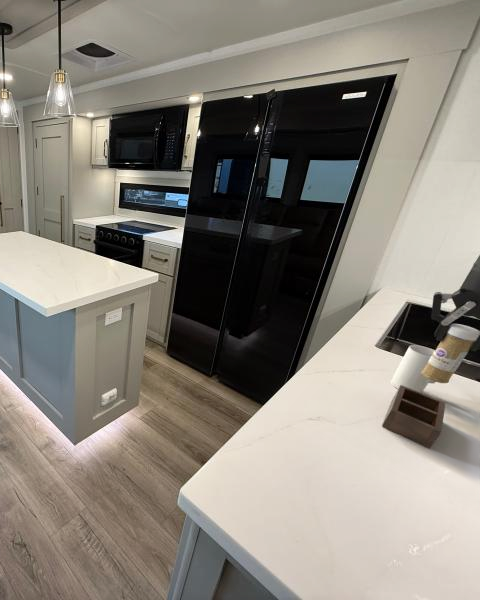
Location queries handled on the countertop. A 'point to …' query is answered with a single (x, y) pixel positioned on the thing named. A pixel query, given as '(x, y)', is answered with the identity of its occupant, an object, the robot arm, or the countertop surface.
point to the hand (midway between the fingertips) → (455, 344)
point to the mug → (413, 369)
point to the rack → (415, 416)
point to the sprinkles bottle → (450, 352)
